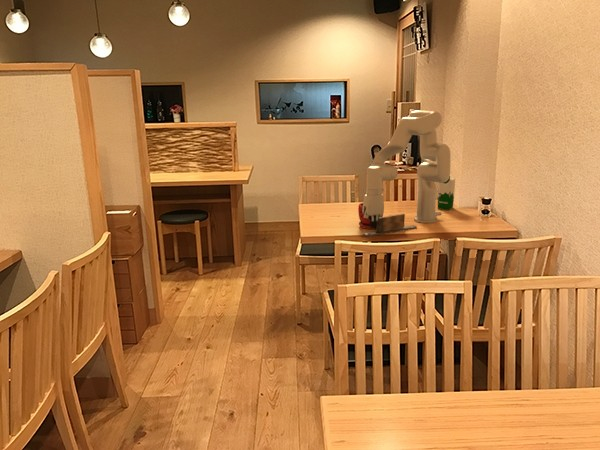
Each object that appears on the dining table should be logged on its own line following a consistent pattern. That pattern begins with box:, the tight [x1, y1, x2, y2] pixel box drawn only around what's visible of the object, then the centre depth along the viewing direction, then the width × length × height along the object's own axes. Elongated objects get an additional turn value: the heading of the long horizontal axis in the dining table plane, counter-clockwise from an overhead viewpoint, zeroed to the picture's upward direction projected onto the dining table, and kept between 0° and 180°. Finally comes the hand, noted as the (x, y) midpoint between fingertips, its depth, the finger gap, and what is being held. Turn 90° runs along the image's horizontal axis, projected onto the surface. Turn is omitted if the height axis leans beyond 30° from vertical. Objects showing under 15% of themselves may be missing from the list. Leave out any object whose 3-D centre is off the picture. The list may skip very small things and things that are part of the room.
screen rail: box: [363, 224, 418, 238], centre depth 252 cm, size 31×3×1 cm, turn 117°
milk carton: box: [437, 176, 456, 211], centre depth 294 cm, size 9×9×20 cm
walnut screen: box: [375, 213, 406, 232], centre depth 251 cm, size 16×2×7 cm, turn 117°
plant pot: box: [358, 202, 385, 230], centre depth 259 cm, size 13×13×12 cm
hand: (373, 228), depth 246 cm, fingers closed
